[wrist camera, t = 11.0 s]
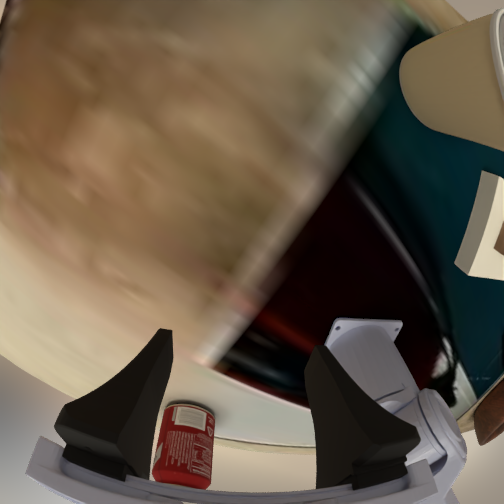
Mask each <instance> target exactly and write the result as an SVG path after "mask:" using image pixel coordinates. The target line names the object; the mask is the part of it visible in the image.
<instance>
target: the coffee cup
mask: <svg viewBox="0 0 504 504" xmlns="http://www.w3.org/2000/svg"><path fill="white" fill-rule="evenodd" d="M399 79H400V86H401V90H402V93H403V96H404V98H405V100H406V103H407V104H408V106H409V108H410V110H411V111H412V112H413V114H414V115H415V116H416V117H417V118H418V120H419V121H421V122H422V123H423V124H424V125H425V126H427V127H429V128H431V129H433V130H435V131H439V132H442V133H446V134H449V135H453V136H457V137H461V138H464V139H468V140H471V141H474V142H478V143H481V144H484V145H487V146H490V147H493V148H496V149H499V150H502V151H504V8H501V9H498V10H496V11H495V12H494V13H493V14H489V15H486V16H483V17H480V18H478V19H475V20H472V21H470V22H467V23H464V24H462V25H459V26H457V27H455V28H452V29H450V30H448V31H445V32H443V33H441V34H439V35H437V36H435V37H433V38H430V39H428V40H426V41H424V42H422V43H420V44H418V45H417V46H415V47H413V48H411V49H410V50H409V51H408V52H407V53H406V54H405V55H404V57H403V59H402V61H401V64H400V69H399Z"/></svg>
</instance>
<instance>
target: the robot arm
mask: <svg viewBox="0 0 504 504" xmlns="http://www.w3.org/2000/svg"><path fill="white" fill-rule="evenodd" d="M402 325H403V323H402V321H401V320H376V319H353V318H337V319H336V320H335V321H334V323H333V325H332V328H331V330H330V333H329V335H328V337H327V340H326V342H325V344H324V345H315V347H314V349H313V352H312V354H311V356H310V359H309V361H308V363H307V366H306V368H305V370H304V374H305V385H306V391H307V396H308V400H309V405H310V409H311V414H312V418H313V423H314V429H315V441H316V465H317V473H316V474H317V475H316V489H314V490H304V491H292V492H273V493H272V492H271V493H246V492H225V491H224V492H223V491H212V490H203V489H195V488H188V487H181V486H175V485H170V484H165V483H160V482H155V481H151V480H149V475H150V464H151V455H152V446H153V440H154V433H155V427H156V422H157V416H158V412H159V409H160V405H161V402H162V399H163V396H164V393H165V390H166V386H167V383H168V380H169V377H170V373H171V368H172V363H173V338H172V330H167V329H162V328H160V329H159V330H158V331H157V332H156V334H155V335H154V336H153V337H152V339H151V340H150V341H149V342H148V344H147V345H146V346H145V347H144V348H143V349H142V350H141V352H140V353H139V354H138V355H137V356H136V357H135V358H134V359H133V360H132V361H131V362H130V363H129V364H128V365H127V366H126V367H125V368H124V369H122V370H121V371H120V372H119V373H118V374H117V375H115V376H114V377H113V378H112V379H110V380H109V381H107V382H106V383H105V384H103V385H102V386H100V387H99V388H97V389H95V390H94V391H92V392H90V393H88V394H87V395H85V396H83V397H81V398H79V399H76V400H74V401H72V402H70V403H67V404H65V405H64V407H63V408H62V410H61V412H60V413H59V416H58V418H57V420H56V422H55V425H54V428H55V430H56V432H57V433H58V434H59V435H60V437H61V438H62V439H63V440H64V441H65V442H66V447H65V448H63V447H62V446H60V445H58V444H56V443H54V442H52V441H50V440H48V439H46V438H44V437H42V436H40V437H39V439H38V442H37V444H36V447H35V449H34V452H33V454H32V457H31V459H30V462H29V465H28V467H27V470H26V473H25V474H26V475H27V476H28V477H29V478H31V479H32V480H34V481H35V482H37V483H38V484H40V485H41V486H43V487H45V488H46V489H48V490H49V491H51V492H53V493H55V494H57V495H59V496H61V497H63V498H65V499H67V500H69V501H72V502H74V503H76V504H183V503H182V502H181V501H183V502H190V503H197V504H459V502H458V500H457V498H456V496H455V494H454V492H453V491H452V489H451V487H452V485H453V484H454V482H455V480H456V479H457V477H458V476H459V474H460V472H461V471H462V469H463V467H464V465H465V463H466V455H467V447H466V443H465V440H464V439H463V437H462V435H461V432H460V429H459V427H458V424H457V422H456V420H455V418H454V416H453V414H452V412H451V411H450V409H449V407H448V406H447V404H446V403H445V401H444V400H443V398H442V397H441V396H440V395H439V394H438V393H437V392H436V391H435V390H430V389H426V388H425V389H423V390H422V391H421V392H420V391H419V389H418V387H417V385H416V383H415V381H414V379H413V377H412V375H411V373H410V372H409V370H408V368H407V366H406V364H405V362H404V360H403V359H402V357H401V355H400V353H399V351H398V350H397V348H396V346H395V344H394V343H393V342H394V340H395V338H396V336H397V335H398V333H399V331H400V329H401V327H402ZM338 326H339V327H338ZM336 327H338V328H336Z"/></svg>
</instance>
